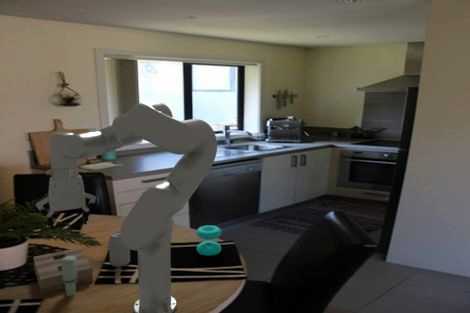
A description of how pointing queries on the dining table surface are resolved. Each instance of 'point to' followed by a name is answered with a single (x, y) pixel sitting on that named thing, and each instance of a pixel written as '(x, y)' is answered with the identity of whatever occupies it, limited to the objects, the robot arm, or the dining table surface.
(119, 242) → the can
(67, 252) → the block
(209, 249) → the donuts
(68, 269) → the peg
